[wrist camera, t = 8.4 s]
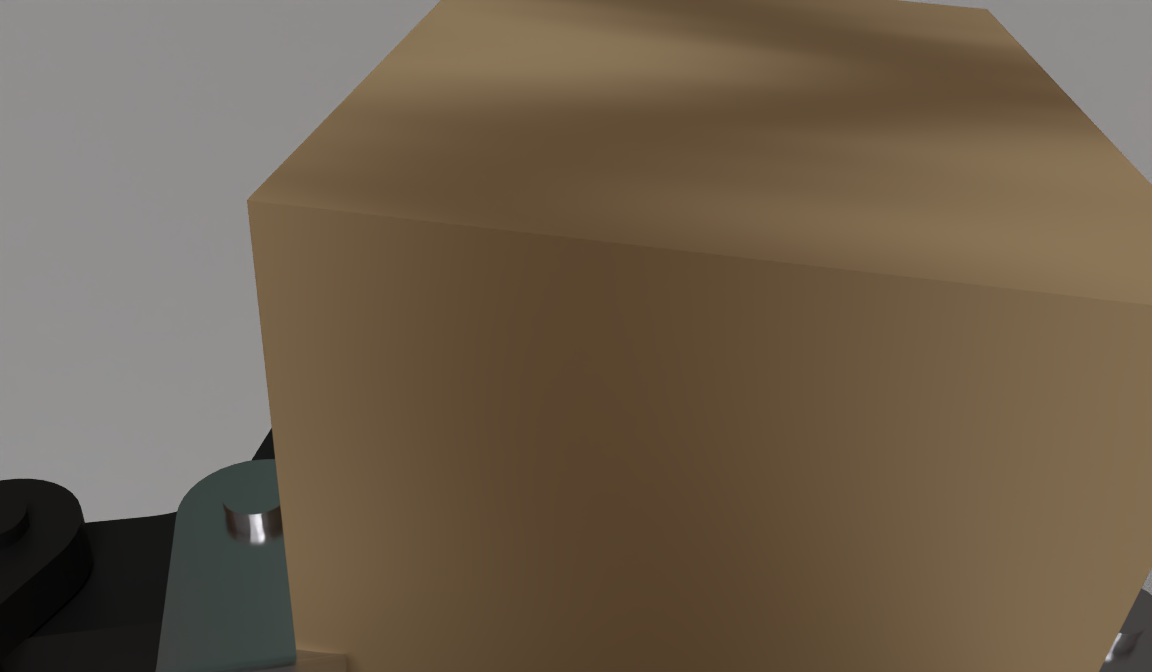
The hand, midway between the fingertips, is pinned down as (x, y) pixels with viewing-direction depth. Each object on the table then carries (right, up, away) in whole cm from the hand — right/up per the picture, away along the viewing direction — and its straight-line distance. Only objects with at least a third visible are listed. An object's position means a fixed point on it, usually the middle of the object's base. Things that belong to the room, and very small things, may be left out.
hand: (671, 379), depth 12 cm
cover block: (0, 0, 0) cm, 0 cm away
